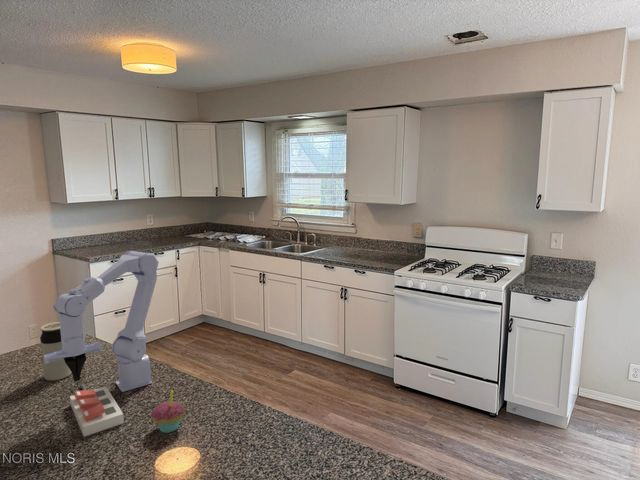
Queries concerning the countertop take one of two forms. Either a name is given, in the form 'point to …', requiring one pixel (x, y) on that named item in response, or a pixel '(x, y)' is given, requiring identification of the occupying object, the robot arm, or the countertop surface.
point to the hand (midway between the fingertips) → (76, 379)
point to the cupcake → (168, 415)
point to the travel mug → (50, 345)
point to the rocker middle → (88, 402)
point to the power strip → (103, 421)
